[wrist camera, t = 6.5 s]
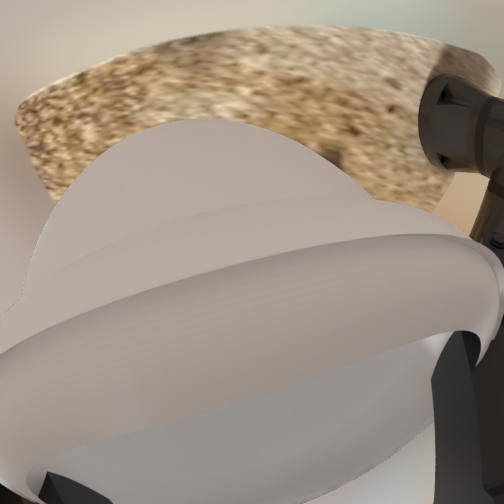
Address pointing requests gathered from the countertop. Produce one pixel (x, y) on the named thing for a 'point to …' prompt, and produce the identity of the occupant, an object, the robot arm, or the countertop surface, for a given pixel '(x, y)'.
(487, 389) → the robot arm
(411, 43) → the countertop surface
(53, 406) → the jar
